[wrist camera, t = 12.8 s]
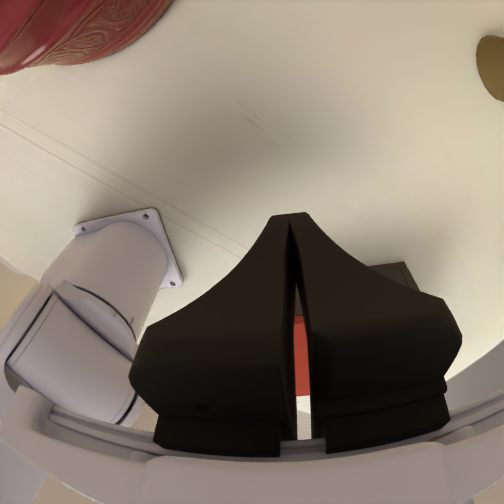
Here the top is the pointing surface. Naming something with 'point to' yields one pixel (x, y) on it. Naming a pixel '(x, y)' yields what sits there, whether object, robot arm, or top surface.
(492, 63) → the olive brown oblong piece
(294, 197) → the top surface
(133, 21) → the kitchen canister
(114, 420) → the robot arm
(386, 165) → the top surface
